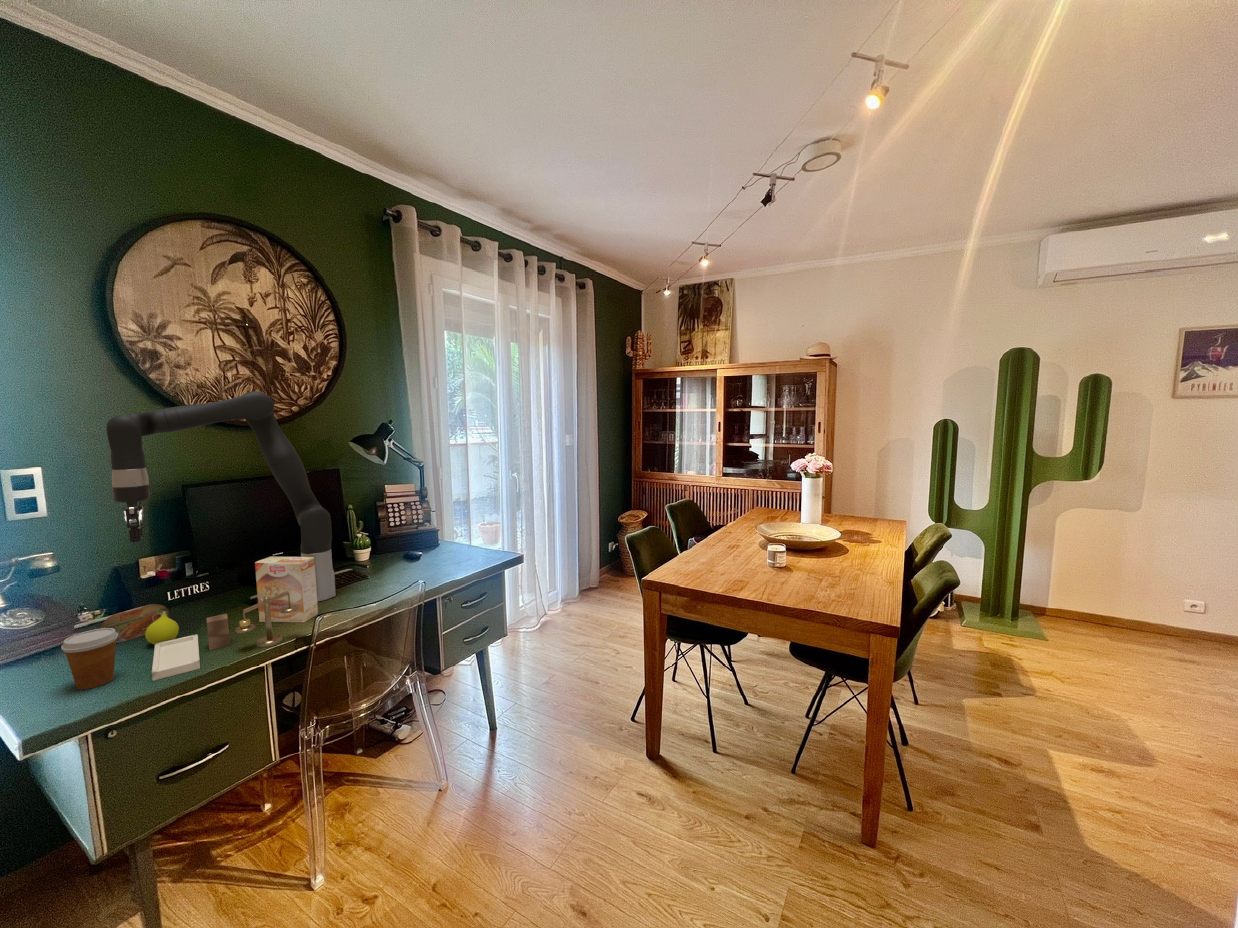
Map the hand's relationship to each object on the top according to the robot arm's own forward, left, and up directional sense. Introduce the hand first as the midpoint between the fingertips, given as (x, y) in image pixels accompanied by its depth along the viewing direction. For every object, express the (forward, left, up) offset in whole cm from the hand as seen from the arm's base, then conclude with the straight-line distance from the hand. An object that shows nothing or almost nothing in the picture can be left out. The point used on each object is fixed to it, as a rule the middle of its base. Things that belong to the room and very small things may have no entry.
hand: (136, 539), depth 144 cm
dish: (-7, +26, -29) cm, 40 cm away
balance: (-27, +31, -29) cm, 50 cm away
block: (-16, +23, -29) cm, 40 cm away
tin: (+2, -1, -30) cm, 30 cm away
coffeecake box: (-34, +14, -30) cm, 47 cm away
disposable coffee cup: (+8, +28, -30) cm, 41 cm away
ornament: (-4, +11, -30) cm, 32 cm away
